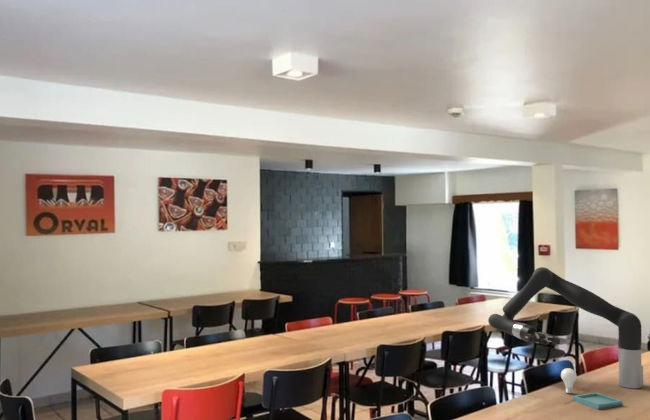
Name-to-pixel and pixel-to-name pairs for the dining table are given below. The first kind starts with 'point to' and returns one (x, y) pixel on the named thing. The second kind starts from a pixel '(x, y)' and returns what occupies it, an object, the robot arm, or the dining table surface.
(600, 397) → the tray
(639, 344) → the robot arm
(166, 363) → the dining table surface
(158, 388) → the dining table surface
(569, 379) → the lightbulb
